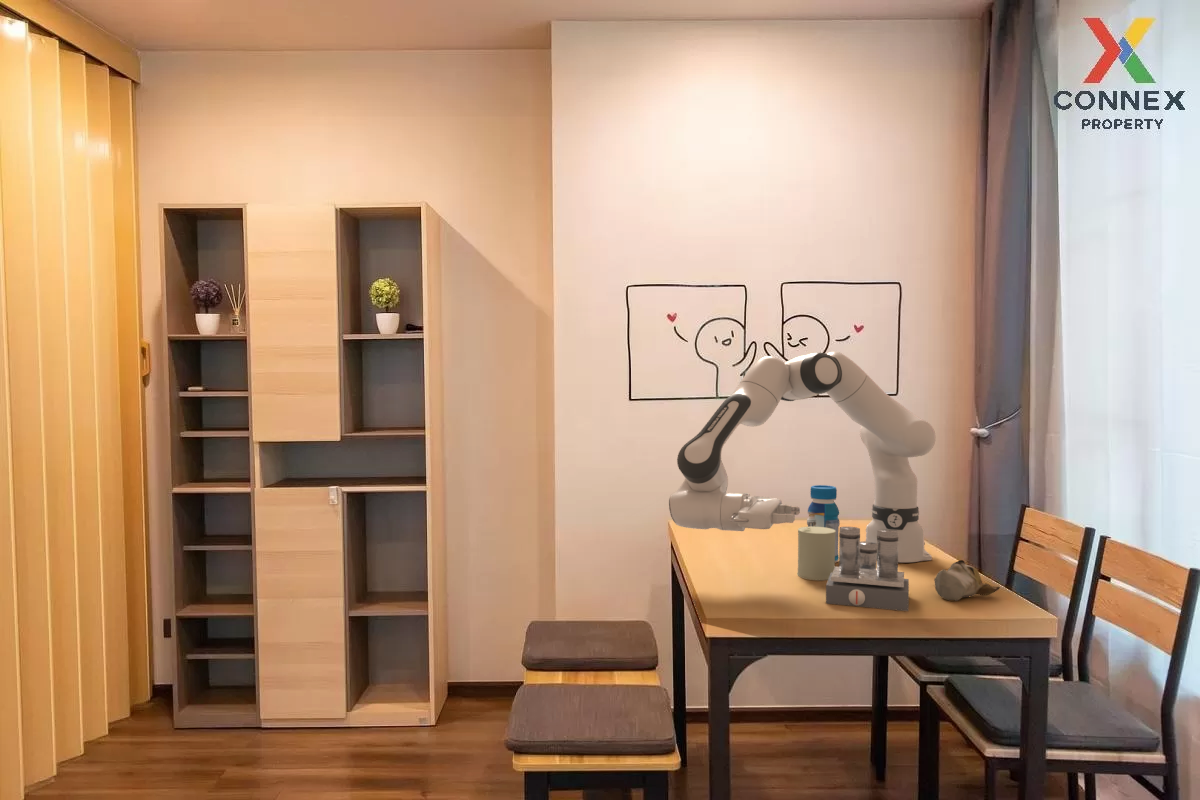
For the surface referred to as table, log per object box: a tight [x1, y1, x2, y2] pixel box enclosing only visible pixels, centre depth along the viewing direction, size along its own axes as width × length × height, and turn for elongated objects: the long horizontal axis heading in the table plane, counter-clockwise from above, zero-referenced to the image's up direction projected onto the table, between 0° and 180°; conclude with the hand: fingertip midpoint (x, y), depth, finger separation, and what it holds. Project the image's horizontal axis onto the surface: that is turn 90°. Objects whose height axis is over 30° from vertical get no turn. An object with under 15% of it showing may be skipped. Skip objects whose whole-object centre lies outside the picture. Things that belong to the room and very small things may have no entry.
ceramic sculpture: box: [933, 559, 1001, 602], centre depth 186 cm, size 11×9×15 cm
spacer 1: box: [838, 526, 861, 575], centre depth 184 cm, size 4×4×10 cm
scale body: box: [825, 573, 910, 612], centre depth 183 cm, size 12×17×4 cm
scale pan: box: [831, 566, 905, 587], centre depth 183 cm, size 10×15×1 cm, turn 70°
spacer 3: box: [876, 529, 899, 578], centre depth 182 cm, size 4×4×10 cm
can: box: [796, 526, 836, 581], centre depth 204 cm, size 9×9×12 cm
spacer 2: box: [860, 540, 877, 570], centre depth 196 cm, size 4×4×10 cm
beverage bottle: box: [806, 484, 841, 564], centre depth 220 cm, size 8×8×20 cm
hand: (796, 514), depth 188 cm, fingers open, 8 cm apart
